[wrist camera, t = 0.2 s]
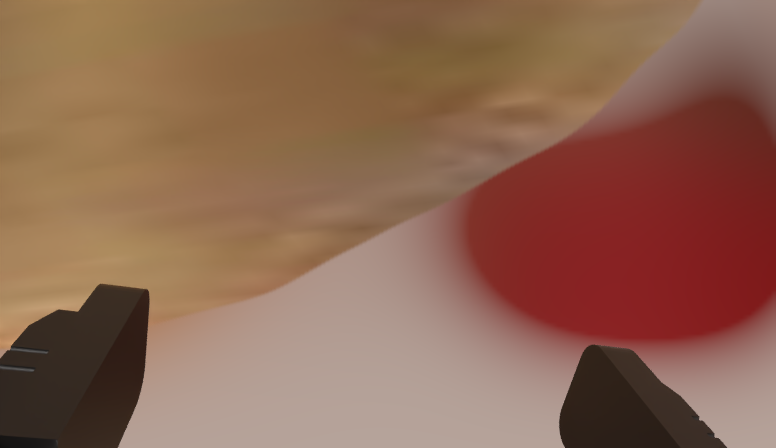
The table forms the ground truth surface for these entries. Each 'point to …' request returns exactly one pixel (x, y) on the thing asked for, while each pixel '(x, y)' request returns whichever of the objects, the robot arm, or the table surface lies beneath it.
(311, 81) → the table surface
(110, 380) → the robot arm
